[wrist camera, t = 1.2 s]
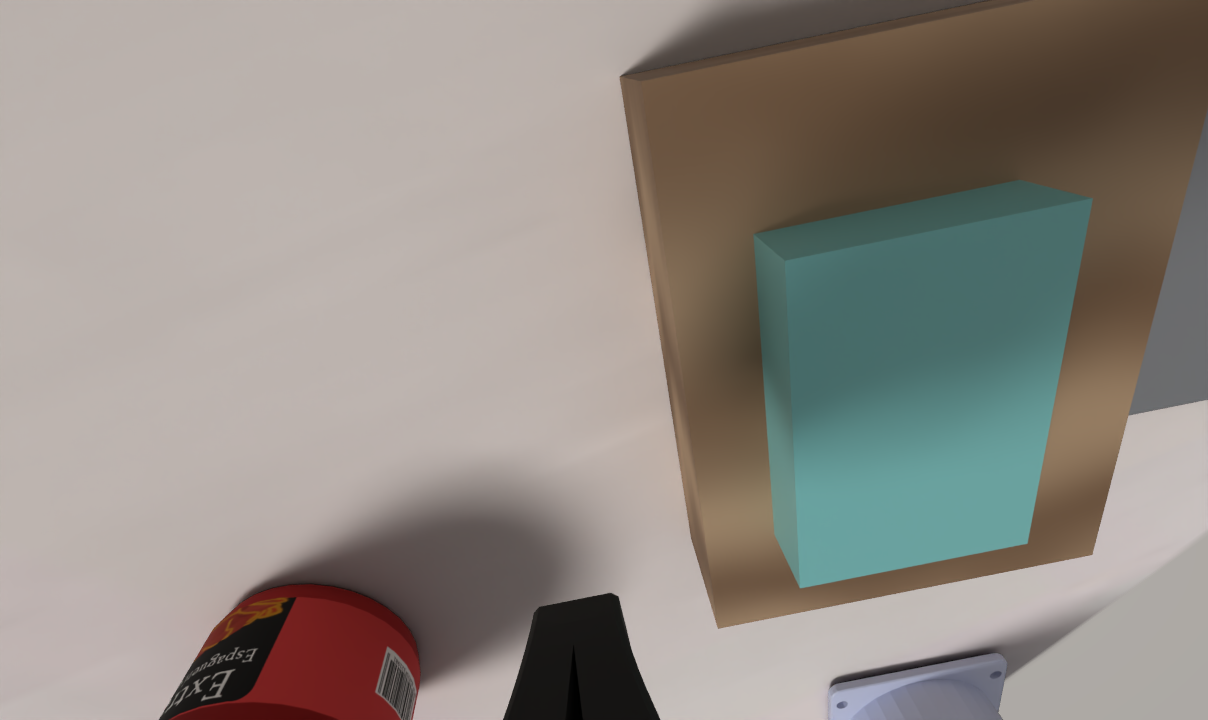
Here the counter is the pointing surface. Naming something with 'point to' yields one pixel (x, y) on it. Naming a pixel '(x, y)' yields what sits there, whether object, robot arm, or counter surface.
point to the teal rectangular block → (914, 374)
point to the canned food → (303, 661)
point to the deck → (895, 176)
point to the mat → (1181, 307)
